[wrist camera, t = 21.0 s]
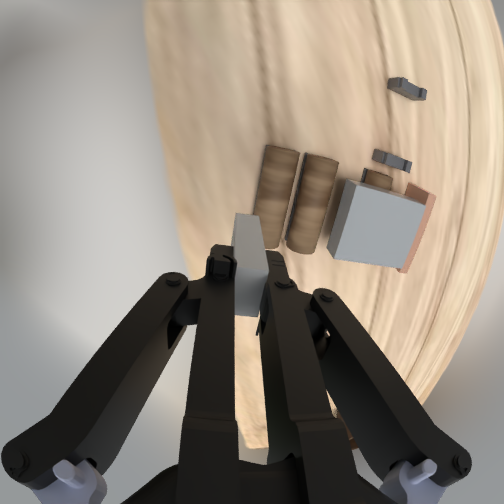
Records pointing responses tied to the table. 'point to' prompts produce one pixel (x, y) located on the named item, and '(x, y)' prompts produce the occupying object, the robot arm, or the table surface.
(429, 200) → the block
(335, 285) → the table surface
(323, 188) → the roller
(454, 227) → the table surface
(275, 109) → the table surface
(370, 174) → the roller
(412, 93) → the rack
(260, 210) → the roller
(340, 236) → the slab
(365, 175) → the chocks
